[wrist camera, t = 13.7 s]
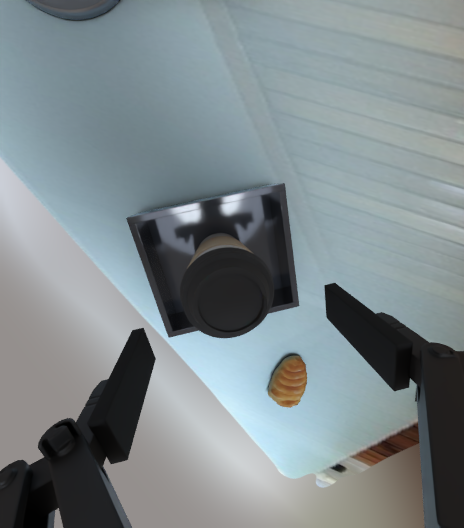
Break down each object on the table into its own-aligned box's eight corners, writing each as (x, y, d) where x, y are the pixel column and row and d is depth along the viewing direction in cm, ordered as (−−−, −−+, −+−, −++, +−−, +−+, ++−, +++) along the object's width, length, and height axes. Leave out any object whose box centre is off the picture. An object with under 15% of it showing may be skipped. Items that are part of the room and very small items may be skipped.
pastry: (275, 351, 42) (282, 367, 38) (310, 353, 43) (320, 368, 39) (265, 392, 45) (270, 409, 41) (297, 392, 46) (305, 410, 42)
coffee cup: (180, 273, 34) (162, 334, 20) (201, 215, 32) (198, 238, 18) (236, 291, 36) (256, 359, 22) (259, 238, 34) (299, 276, 20)
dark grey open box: (139, 212, 32) (126, 217, 26) (270, 183, 33) (284, 183, 27) (174, 314, 37) (168, 337, 32) (285, 288, 38) (299, 306, 32)
